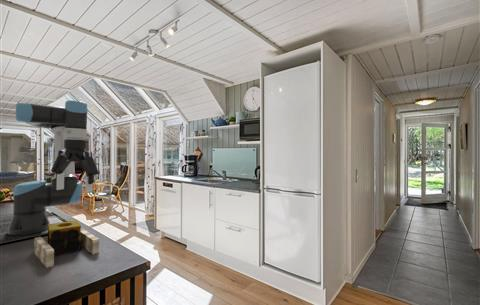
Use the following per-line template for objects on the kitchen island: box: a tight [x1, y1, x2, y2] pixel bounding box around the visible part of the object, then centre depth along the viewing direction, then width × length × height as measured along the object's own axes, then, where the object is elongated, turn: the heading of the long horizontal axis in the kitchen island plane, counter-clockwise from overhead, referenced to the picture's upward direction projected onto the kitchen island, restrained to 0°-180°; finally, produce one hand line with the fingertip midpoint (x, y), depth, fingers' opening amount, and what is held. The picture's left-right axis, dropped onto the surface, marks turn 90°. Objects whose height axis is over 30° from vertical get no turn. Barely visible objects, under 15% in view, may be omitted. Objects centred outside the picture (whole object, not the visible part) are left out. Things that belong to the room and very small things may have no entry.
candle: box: [46, 219, 82, 257], centre depth 94 cm, size 10×10×10 cm
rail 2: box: [80, 228, 100, 256], centre depth 97 cm, size 18×2×6 cm, turn 50°
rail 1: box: [33, 236, 55, 269], centre depth 86 cm, size 18×2×6 cm, turn 51°
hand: (74, 190), depth 99 cm, fingers open, 13 cm apart
